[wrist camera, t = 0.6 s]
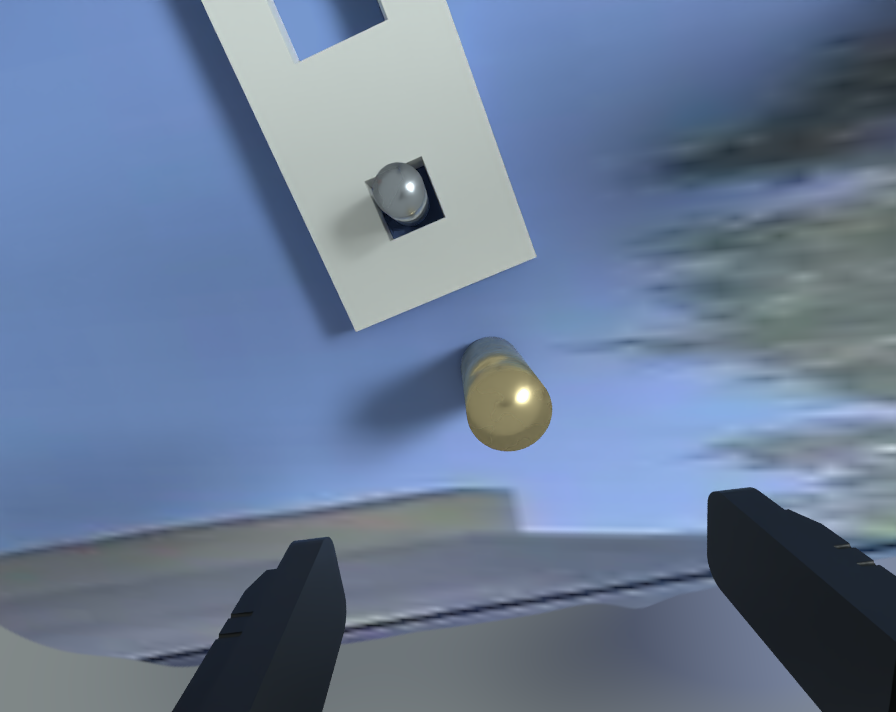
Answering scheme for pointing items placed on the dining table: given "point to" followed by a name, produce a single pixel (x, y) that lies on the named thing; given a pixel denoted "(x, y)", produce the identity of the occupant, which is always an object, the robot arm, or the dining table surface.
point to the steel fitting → (401, 193)
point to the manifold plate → (380, 149)
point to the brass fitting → (503, 396)
